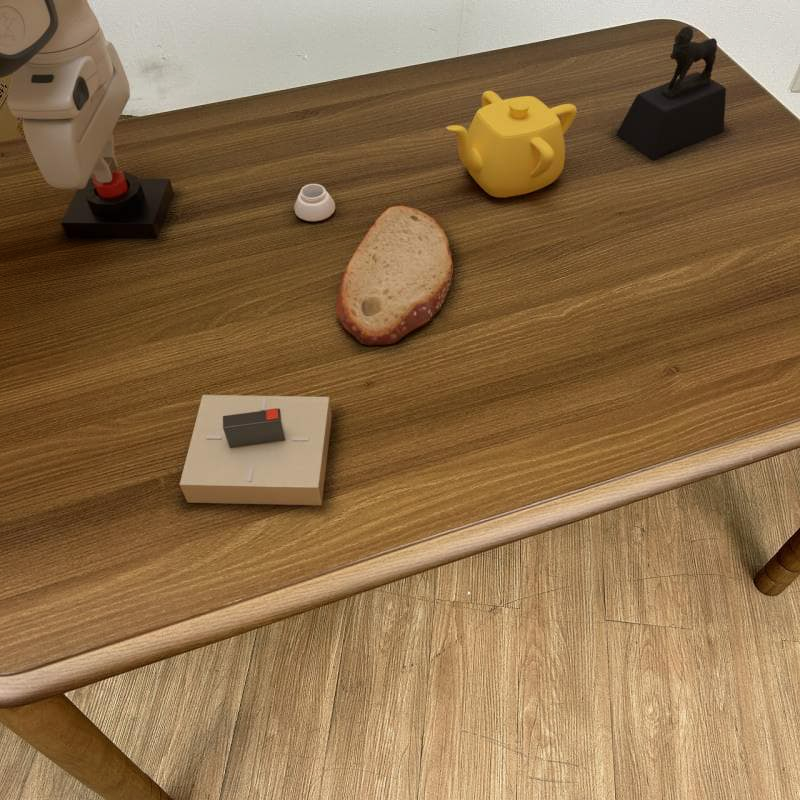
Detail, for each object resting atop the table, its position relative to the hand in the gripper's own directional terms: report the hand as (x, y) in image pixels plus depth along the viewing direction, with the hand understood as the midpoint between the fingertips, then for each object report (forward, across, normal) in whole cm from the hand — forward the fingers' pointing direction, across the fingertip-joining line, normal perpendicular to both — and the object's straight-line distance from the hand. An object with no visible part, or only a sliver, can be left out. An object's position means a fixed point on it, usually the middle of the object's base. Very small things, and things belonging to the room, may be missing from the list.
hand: (108, 175), depth 88 cm
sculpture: (+6, -19, +71) cm, 74 cm away
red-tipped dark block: (+3, +36, +23) cm, 43 cm away
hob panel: (+6, +36, +23) cm, 43 cm away
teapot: (+6, -8, +48) cm, 49 cm away
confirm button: (+2, 0, 0) cm, 2 cm away
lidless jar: (+6, -1, +24) cm, 25 cm away
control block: (+6, 0, 0) cm, 6 cm away
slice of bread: (+6, +11, +34) cm, 36 cm away
